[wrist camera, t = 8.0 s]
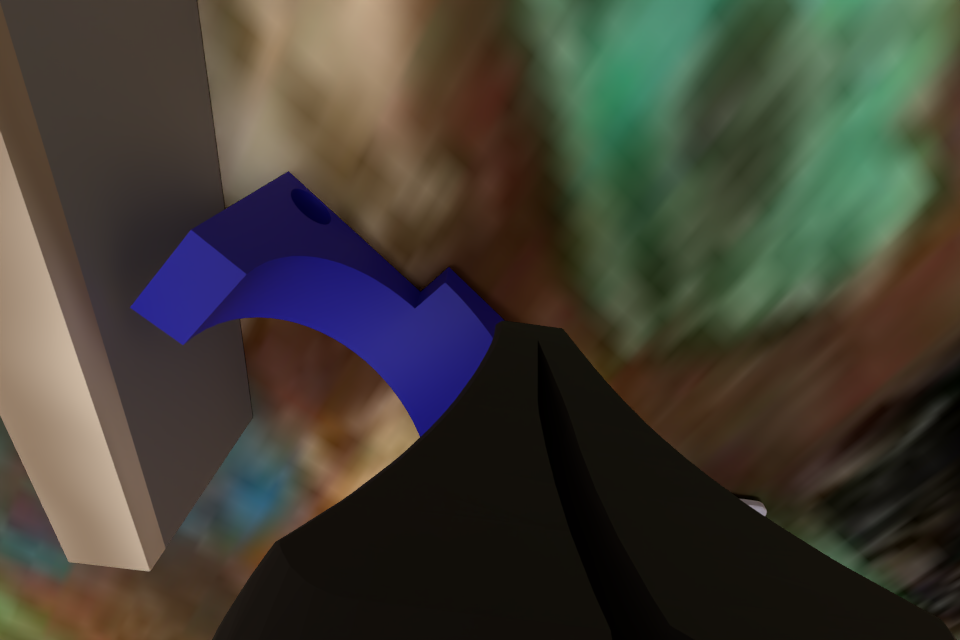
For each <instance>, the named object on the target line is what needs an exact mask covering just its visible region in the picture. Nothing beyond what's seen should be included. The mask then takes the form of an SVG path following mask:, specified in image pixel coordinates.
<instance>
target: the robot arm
mask: <svg viewBox="0 0 960 640" xmlns="http://www.w3.org/2000/svg"><path fill="white" fill-rule="evenodd" d="M766 513H767V511H766V508H765V506H764V505H763V503H761V502H759V501H754V500H746V499H739V498H738V497H736V496H735V495H733V494H732V493H731V492H729V491H728V490H727V489H725V488H724V487H722V486H721V485H720V484H718V483H717V482H716V481H714V480H713V479H711V478H710V477H709V476H707V475H706V474H705V473H704V472H702V471H701V470H700V469H699V468H697V467H696V466H695V465H693V464H692V463H691V462H690V461H688V460H687V459H686V458H685V457H684V456H683V455H681V454H680V453H679V452H678V451H677V450H676V449H674V448H673V447H672V446H671V445H670V444H669V443H667V442H666V441H665V440H664V439H663V438H662V437H660V436H659V435H658V434H657V433H656V432H655V431H654V430H653V429H652V428H651V427H649V426H648V425H647V424H646V423H645V422H644V421H643V420H642V419H641V418H640V417H639V416H638V415H637V414H636V413H635V412H634V411H633V410H632V409H631V408H630V407H629V406H628V405H627V404H626V403H625V402H624V401H623V400H622V398H621V397H620V396H619V395H618V394H617V393H616V392H615V391H614V390H613V389H612V388H611V386H610V385H609V384H608V383H607V382H606V381H605V380H604V379H603V377H602V376H601V375H600V374H599V373H598V372H597V370H596V369H595V368H594V367H593V366H592V364H591V363H590V362H589V361H588V360H587V358H586V357H585V356H584V355H583V353H582V352H581V351H580V350H579V348H578V347H577V346H576V345H575V343H574V342H573V341H572V340H571V338H570V337H569V336H568V335H567V333H566V332H565V331H564V330H563V329H562V328H555V327H547V326H540V325H532V324H525V323H517V322H510V321H501V322H499V323H498V324H496V326H495V332H494V337H493V340H492V342H491V345H490V347H489V349H488V351H487V353H486V355H485V356H484V358H483V360H482V361H481V363H480V365H479V367H478V368H477V370H476V372H475V373H474V375H473V376H472V377H471V379H470V380H469V382H468V383H467V384H466V386H465V387H464V388H463V390H462V391H461V393H460V394H459V395H458V397H457V398H456V399H455V400H454V402H453V403H452V404H451V405H450V406H449V408H448V409H447V410H446V411H445V412H444V413H443V414H442V416H441V417H440V418H439V419H438V420H437V421H436V422H435V423H434V424H433V425H432V426H431V427H430V428H429V429H428V430H427V431H426V432H425V433H424V434H423V435H422V436H421V437H420V438H419V439H418V440H417V441H416V442H415V443H414V444H413V445H412V446H410V447H409V448H408V449H407V450H406V451H405V452H404V453H403V454H402V455H400V456H399V457H398V458H397V459H396V460H395V461H393V462H392V463H391V464H390V465H388V466H387V467H386V468H384V469H383V470H382V471H380V472H379V473H378V474H377V475H375V476H374V477H373V478H371V479H370V480H369V481H367V482H366V483H365V484H363V485H362V486H361V487H360V488H358V489H357V490H356V491H354V492H353V493H352V494H350V495H349V496H347V497H346V498H344V499H343V500H342V501H340V502H339V503H337V504H335V505H334V506H332V507H331V508H329V509H328V510H326V511H324V512H323V513H321V514H320V515H318V516H316V517H315V518H313V519H312V520H310V521H308V522H307V523H305V524H304V525H302V526H301V527H299V528H297V529H296V530H294V531H293V532H291V533H289V534H288V535H286V536H285V537H283V538H281V539H279V540H278V541H276V542H275V543H274V545H273V546H272V547H271V549H270V550H269V551H268V552H267V554H266V555H265V557H264V558H263V559H262V561H261V562H260V564H259V565H258V567H257V568H256V569H255V571H254V572H253V574H252V575H251V576H250V578H249V579H248V581H247V583H246V584H245V586H244V587H243V589H242V590H241V592H240V593H239V595H238V596H237V598H236V600H235V601H234V603H233V604H232V606H231V608H230V609H229V611H228V612H227V614H226V616H225V617H224V619H223V621H222V622H221V624H220V626H219V627H218V629H217V631H216V633H215V635H214V637H213V639H212V640H957V639H956V638H955V637H954V635H953V634H952V633H951V631H950V630H949V629H948V627H947V626H946V625H945V624H944V622H943V621H942V620H941V619H939V618H937V617H935V616H934V615H932V614H930V613H928V612H926V611H925V610H923V609H921V608H919V607H917V606H916V605H914V604H912V603H910V602H908V601H907V600H905V599H903V598H901V597H899V596H898V595H896V594H894V593H892V592H890V591H889V590H887V589H885V588H883V587H881V586H880V585H878V584H876V583H874V582H872V581H871V580H869V579H867V578H865V577H863V576H862V575H860V574H858V573H856V572H854V571H853V570H851V569H849V568H847V567H845V566H844V565H842V564H840V563H838V562H837V561H835V560H833V559H831V558H830V557H828V556H826V555H825V554H823V553H822V552H820V551H818V550H817V549H815V548H814V547H812V546H810V545H809V544H807V543H806V542H804V541H802V540H801V539H799V538H798V537H796V536H794V535H793V534H791V533H790V532H788V531H786V530H785V529H783V528H782V527H780V526H778V525H777V524H775V523H774V522H772V521H771V520H770V519H768V518H767V517H765V516H766Z"/></svg>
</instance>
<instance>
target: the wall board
mask: <svg viewBox="0 0 960 640" xmlns="http://www.w3.org/2000/svg"><path fill="white" fill-rule="evenodd" d="M223 210H225V208H224V200H223V193H222V185H221V178H220V170H219V163H218V156H217V148H216V141H215V133H214V126H213V119H212V111H211V104H210V96H209V89H208V81H207V74H206V67H205V59H204V52H203V44H202V37H201V29H200V22H199V15H198V7H197V0H0V416H1V418H2V420H3V422H4V424H5V426H6V429H7V431H8V433H9V435H10V437H11V439H12V441H13V444H14V446H15V448H16V450H17V452H18V454H19V456H20V458H21V461H22V463H23V465H24V467H25V469H26V471H27V473H28V476H29V478H30V480H31V482H32V484H33V486H34V488H35V491H36V493H37V495H38V497H39V499H40V501H41V503H42V505H43V508H44V510H45V512H46V514H47V516H48V518H49V520H50V523H51V525H52V527H53V529H54V531H55V533H56V535H57V538H58V540H59V542H60V544H61V546H62V548H63V550H64V552H65V555H66V557H67V559H68V561H69V562H74V563H83V564H91V565H100V566H108V567H117V568H126V569H134V570H143V571H151V569H152V568H153V566H154V565H155V563H156V562H157V560H158V559H159V557H160V556H161V554H162V553H163V551H164V550H165V548H166V547H167V545H168V544H169V542H170V541H171V539H172V538H173V536H174V535H175V533H176V532H177V530H178V529H179V527H180V526H181V524H182V523H183V521H184V520H185V518H186V517H187V515H188V514H189V512H190V511H191V509H192V508H193V506H194V505H195V503H196V502H197V500H198V499H199V497H200V496H201V494H202V493H203V491H204V490H205V488H206V487H207V485H208V484H209V482H210V481H211V479H212V478H213V476H214V475H215V473H216V472H217V470H218V469H219V467H220V466H221V464H222V463H223V461H224V460H225V458H226V457H227V455H228V454H229V452H230V451H231V449H232V448H233V446H234V445H235V443H236V442H237V440H238V439H239V437H240V436H241V434H242V433H243V431H244V430H245V428H246V427H247V425H248V424H249V422H250V421H251V419H252V418H253V416H252V408H251V401H250V393H249V386H248V378H247V371H246V364H245V356H244V349H243V341H242V334H241V326H240V319H235V320H230V321H226V322H223V323H219V324H217V325H215V326H212V327H210V328H208V329H206V330H204V331H202V332H201V333H199V334H197V335H196V336H194V337H193V338H192V339H190V340H189V341H188V342H187V343H185V344H184V345H182V344H180V343H179V342H178V341H176V340H175V339H173V338H172V337H171V336H169V335H168V334H166V333H165V332H164V331H162V330H161V329H159V328H158V327H156V326H155V325H154V324H152V323H151V322H149V321H148V320H147V319H145V318H144V317H142V316H141V315H140V314H138V313H137V312H135V311H134V310H133V309H131V308H130V307H131V305H132V304H133V303H134V302H135V300H136V299H137V298H138V297H139V295H140V294H141V293H142V291H143V290H144V289H145V288H146V286H147V285H148V284H149V283H150V281H151V280H152V279H153V277H154V276H155V275H156V274H157V272H158V271H159V270H160V269H161V267H162V266H163V265H164V263H165V262H166V261H167V260H168V258H169V257H170V256H171V254H172V253H173V252H174V251H175V249H176V248H177V247H178V246H179V244H180V243H181V242H182V240H183V239H184V238H185V237H186V235H187V234H188V233H189V232H190V230H191V229H193V228H195V227H196V226H198V225H200V224H201V223H203V222H205V221H206V220H208V219H210V218H211V217H213V216H215V215H216V214H218V213H220V212H221V211H223Z"/></svg>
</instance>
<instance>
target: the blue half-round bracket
mask: <svg viewBox="0 0 960 640" xmlns="http://www.w3.org/2000/svg"><path fill="white" fill-rule="evenodd" d="M130 308H131V309H133V310H134V311H135V312H137V313H138V314H140V315H141V316H142V317H144V318H145V319H147V320H148V321H149V322H151V323H152V324H154V325H155V326H156V327H158V328H159V329H161V330H162V331H164V332H165V333H166V334H168V335H169V336H171V337H172V338H173V339H175V340H176V341H178V342H179V343H180V344H182V345H184V344H185V343H187V342H188V341H189V340H190V339H192V338H193V337H194V336H196V335H197V334H199V333H201V332H202V331H204V330H206V329H208V328H210V327H212V326H215V325H217V324H219V323H223V322H226V321H230V320H235V319H241V318H252V317H264V318H275V319H282V320H287V321H291V322H295V323H299V324H302V325H305V326H308V327H310V328H313V329H315V330H318V331H320V332H322V333H324V334H326V335H328V336H330V337H332V338H334V339H335V340H337V341H339V342H340V343H342V344H344V345H345V346H347V347H348V348H349V349H351V350H352V351H354V352H355V353H356V354H357V355H359V356H360V357H361V358H362V359H364V360H365V361H366V362H367V363H368V364H369V365H370V366H371V367H372V368H374V369H375V370H376V371H377V372H378V374H379V375H380V376H381V377H382V378H383V379H384V380H385V381H386V382H387V383H388V385H389V386H390V387H391V388H392V390H393V391H394V392H395V394H396V395H397V396H398V398H399V399H400V401H401V402H402V404H403V405H404V407H405V408H406V410H407V412H408V413H409V415H410V417H411V419H412V420H413V422H414V425H415V427H416V429H417V431H418V433H419V435H420V437H421V436H422V435H423V434H424V433H425V432H426V431H427V430H428V429H429V428H430V427H431V426H432V425H433V424H434V423H435V422H436V421H437V420H438V419H439V418H440V417H441V416H442V414H443V413H444V412H445V411H446V410H447V409H448V408H449V406H450V405H451V404H452V403H453V402H454V400H455V399H456V398H457V397H458V395H459V394H460V393H461V391H462V390H463V388H464V387H465V386H466V384H467V383H468V382H469V380H470V379H471V377H472V376H473V375H474V373H475V372H476V370H477V368H478V367H479V365H480V363H481V361H482V360H483V358H484V356H485V355H486V353H487V351H488V349H489V347H490V345H491V342H492V340H493V337H494V332H495V326H496V324H498V323H499V322H501V321H505V320H504V319H502V318H501V317H500V316H499V315H498V314H497V313H496V312H495V311H494V310H493V309H492V308H491V307H490V306H489V305H488V304H487V303H486V302H485V301H484V300H483V299H482V298H481V297H480V296H479V295H478V294H477V293H476V292H474V291H473V290H472V289H471V288H470V287H469V286H468V285H467V284H466V283H465V282H464V281H463V280H462V279H461V278H460V277H459V276H458V275H457V274H456V273H455V272H454V271H453V270H452V269H451V268H450V267H448V268H447V269H446V270H445V271H444V272H443V273H441V274H440V275H439V276H438V277H437V278H436V279H435V280H434V281H432V282H431V283H430V284H429V285H428V286H427V287H426V288H425V289H423V290H422V291H421V292H420V291H419V290H418V289H417V288H416V287H414V286H413V285H412V284H411V283H410V282H409V281H408V280H407V279H406V278H405V277H404V276H402V275H401V274H400V273H399V272H398V271H397V270H396V269H395V268H394V267H393V266H392V265H390V264H389V263H388V262H387V261H386V260H385V259H384V258H383V257H382V256H381V255H379V254H378V253H377V252H376V251H375V250H374V249H373V248H372V247H371V246H370V245H369V244H367V243H366V242H365V241H364V240H363V239H362V238H361V237H360V236H359V235H358V234H357V233H355V232H354V231H353V230H352V229H351V228H350V227H349V226H348V225H347V224H346V223H344V222H343V221H342V220H341V219H340V218H339V217H338V216H337V215H336V214H335V213H334V212H332V211H331V210H330V209H329V208H328V207H327V206H326V205H325V204H324V203H323V202H322V201H320V200H319V199H318V198H317V197H316V196H315V195H314V194H313V193H312V192H311V191H309V190H308V189H307V188H306V187H305V186H304V185H303V184H302V183H301V182H300V181H299V180H297V179H296V178H295V177H294V176H293V175H292V174H291V173H290V172H289V171H288V172H287V173H285V174H283V175H282V176H280V177H278V178H277V179H275V180H273V181H272V182H270V183H268V184H266V185H265V186H263V187H261V188H260V189H258V190H256V191H255V192H253V193H251V194H250V195H248V196H246V197H245V198H243V199H241V200H240V201H238V202H236V203H235V204H233V205H231V206H230V207H228V208H226V209H225V210H223V211H221V212H220V213H218V214H216V215H215V216H213V217H211V218H210V219H208V220H206V221H205V222H203V223H201V224H200V225H198V226H196V227H195V228H193V229H191V230H190V232H189V233H188V234H187V235H186V237H185V238H184V239H183V240H182V242H181V243H180V244H179V246H178V247H177V248H176V249H175V251H174V252H173V253H172V254H171V256H170V257H169V258H168V260H167V261H166V262H165V263H164V265H163V266H162V267H161V269H160V270H159V271H158V272H157V274H156V275H155V276H154V277H153V279H152V280H151V281H150V283H149V284H148V285H147V286H146V288H145V289H144V290H143V291H142V293H141V294H140V295H139V297H138V298H137V299H136V300H135V302H134V303H133V304H132V305H131V307H130Z"/></svg>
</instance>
